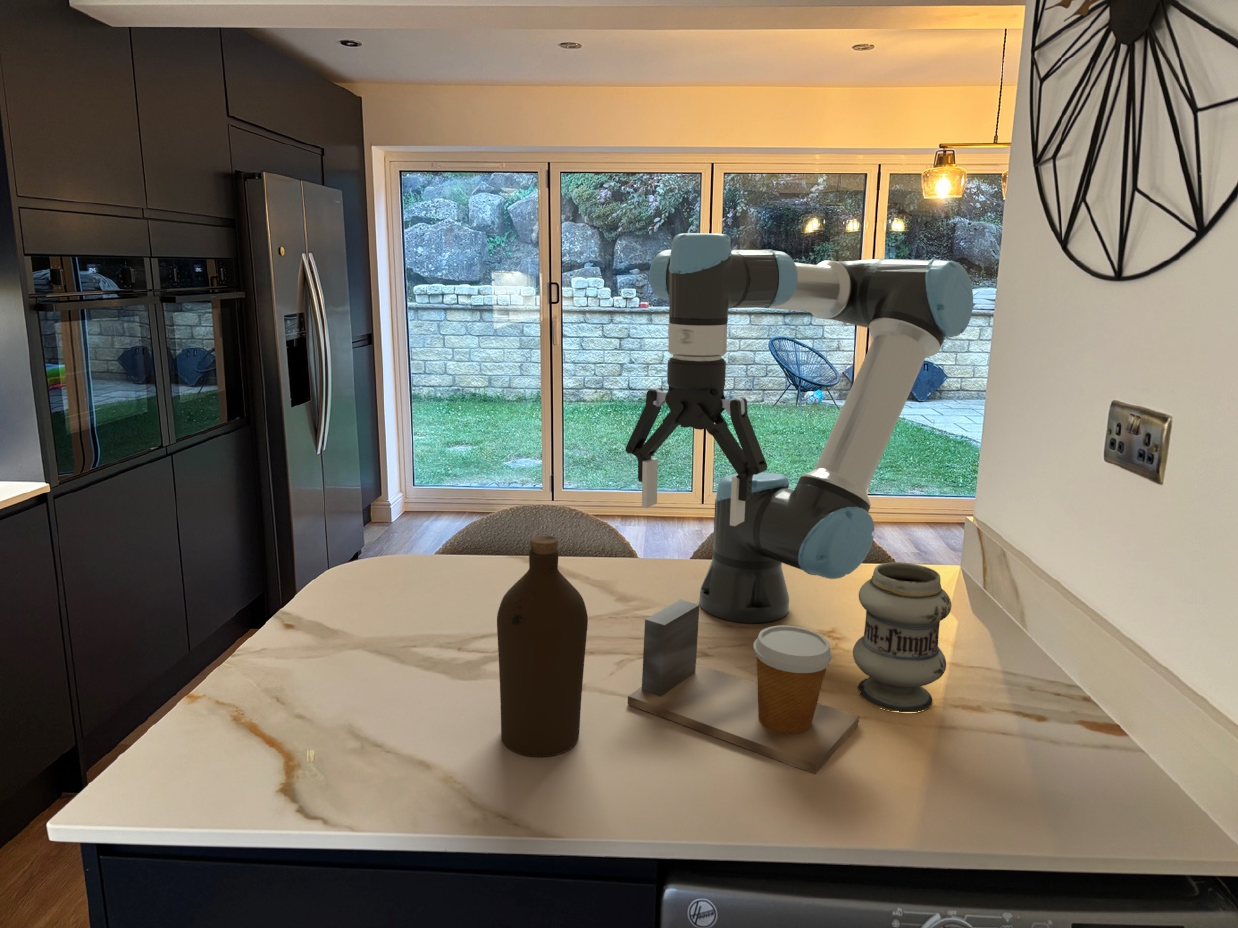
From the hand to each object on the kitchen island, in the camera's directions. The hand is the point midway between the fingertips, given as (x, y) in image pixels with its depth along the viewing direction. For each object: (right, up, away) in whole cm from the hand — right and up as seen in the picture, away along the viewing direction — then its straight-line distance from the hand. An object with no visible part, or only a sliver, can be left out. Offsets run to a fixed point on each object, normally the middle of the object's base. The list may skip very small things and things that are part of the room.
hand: (691, 514), depth 118 cm
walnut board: (+6, -26, -5) cm, 27 cm away
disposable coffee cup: (+11, -26, -8) cm, 30 cm away
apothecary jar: (+28, -25, +2) cm, 38 cm away
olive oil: (-19, -26, -12) cm, 35 cm away
